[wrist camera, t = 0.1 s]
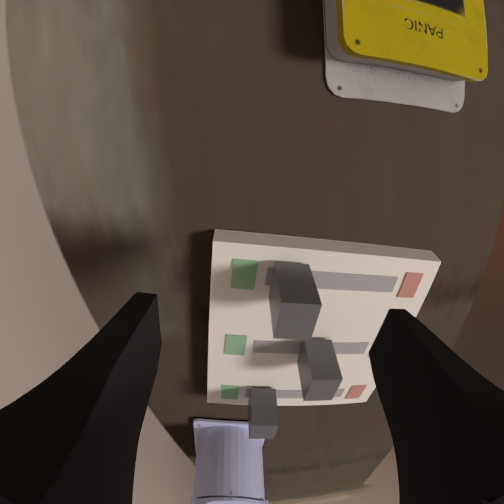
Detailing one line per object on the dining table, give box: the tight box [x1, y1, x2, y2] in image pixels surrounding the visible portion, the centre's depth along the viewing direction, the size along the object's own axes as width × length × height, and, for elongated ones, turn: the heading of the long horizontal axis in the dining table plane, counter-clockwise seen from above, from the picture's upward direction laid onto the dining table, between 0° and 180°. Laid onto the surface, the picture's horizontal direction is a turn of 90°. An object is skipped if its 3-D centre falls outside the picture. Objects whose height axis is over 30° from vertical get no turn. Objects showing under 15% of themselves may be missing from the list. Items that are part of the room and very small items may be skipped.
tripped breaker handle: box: [297, 339, 343, 401], centre depth 20 cm, size 2×2×4 cm
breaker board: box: [207, 229, 441, 439], centre depth 21 cm, size 16×15×5 cm
